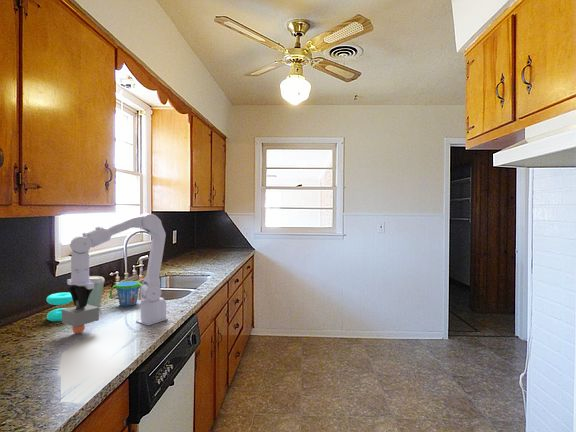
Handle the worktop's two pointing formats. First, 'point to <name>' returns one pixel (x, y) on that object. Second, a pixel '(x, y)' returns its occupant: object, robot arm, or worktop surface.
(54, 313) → the donuts
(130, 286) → the snack cup
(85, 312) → the grey block
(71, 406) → the worktop surface
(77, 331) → the ball
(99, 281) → the disposable coffee cup
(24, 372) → the worktop surface
